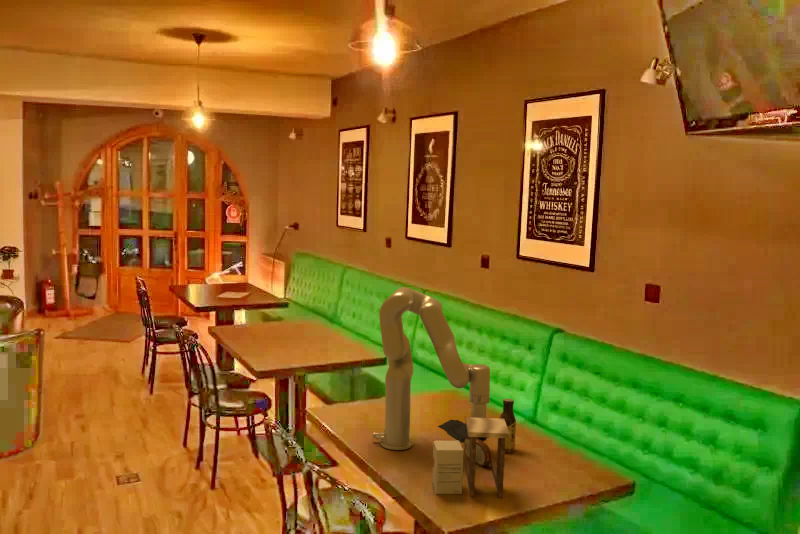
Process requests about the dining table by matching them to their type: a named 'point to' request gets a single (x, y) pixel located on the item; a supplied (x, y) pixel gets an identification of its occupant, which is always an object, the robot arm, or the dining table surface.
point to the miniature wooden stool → (500, 431)
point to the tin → (478, 451)
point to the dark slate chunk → (456, 430)
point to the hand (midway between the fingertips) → (478, 444)
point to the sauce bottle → (509, 424)
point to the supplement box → (447, 467)
